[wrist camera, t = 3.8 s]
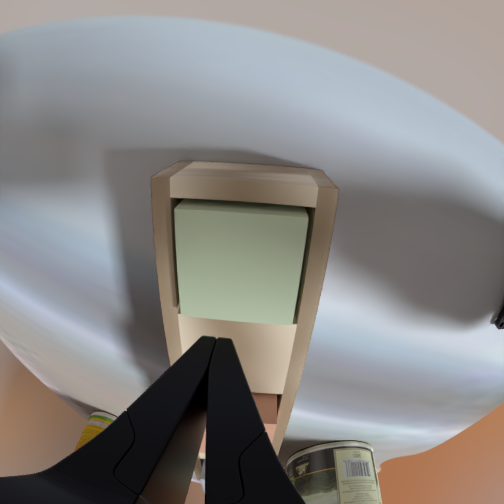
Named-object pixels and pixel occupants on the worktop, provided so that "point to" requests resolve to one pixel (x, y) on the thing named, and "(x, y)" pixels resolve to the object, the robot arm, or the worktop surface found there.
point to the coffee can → (335, 474)
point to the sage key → (239, 259)
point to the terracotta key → (267, 412)
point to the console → (245, 333)
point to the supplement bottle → (95, 426)
